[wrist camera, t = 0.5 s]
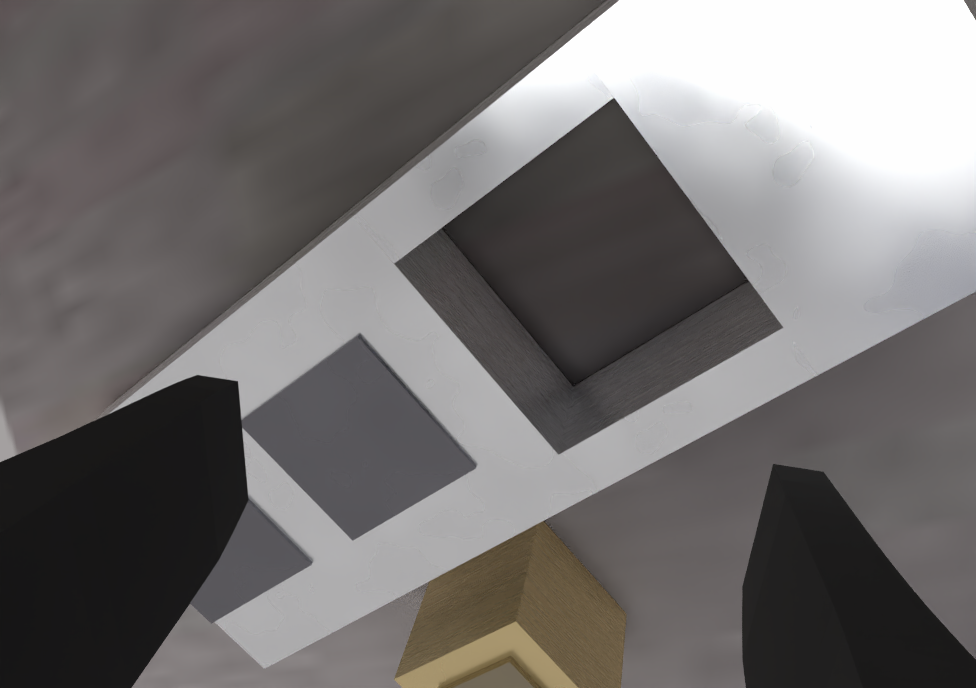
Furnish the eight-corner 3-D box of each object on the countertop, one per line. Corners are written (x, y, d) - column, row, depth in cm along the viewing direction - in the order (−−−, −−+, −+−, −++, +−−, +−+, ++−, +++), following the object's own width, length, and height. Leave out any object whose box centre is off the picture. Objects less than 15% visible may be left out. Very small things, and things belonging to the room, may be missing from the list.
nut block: (626, 612, 25) (617, 735, 22) (517, 660, 27) (491, 783, 24) (539, 514, 24) (514, 627, 21) (433, 571, 26) (391, 685, 23)
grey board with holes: (1038, 175, 18) (1100, 228, 15) (304, 592, 27) (262, 671, 25) (824, -179, 16) (852, -188, 13) (112, 403, 25) (43, 466, 23)
